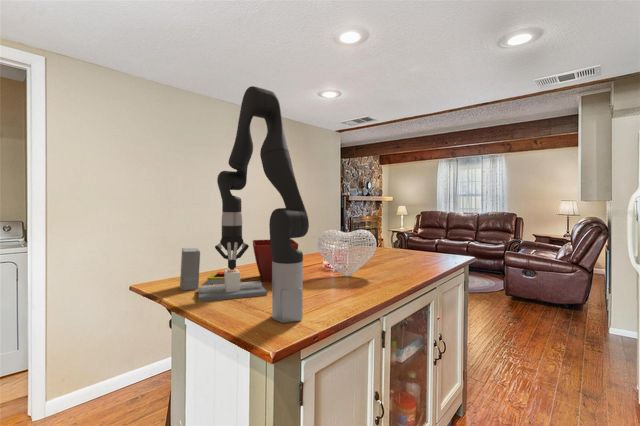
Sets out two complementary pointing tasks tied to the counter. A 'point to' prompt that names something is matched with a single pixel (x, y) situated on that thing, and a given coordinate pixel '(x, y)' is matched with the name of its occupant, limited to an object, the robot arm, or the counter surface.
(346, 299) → the counter surface
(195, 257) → the skincare box
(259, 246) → the plant pot
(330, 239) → the heart
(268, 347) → the counter surface
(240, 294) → the rail board
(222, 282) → the emergency button
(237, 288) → the block
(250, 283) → the rail
